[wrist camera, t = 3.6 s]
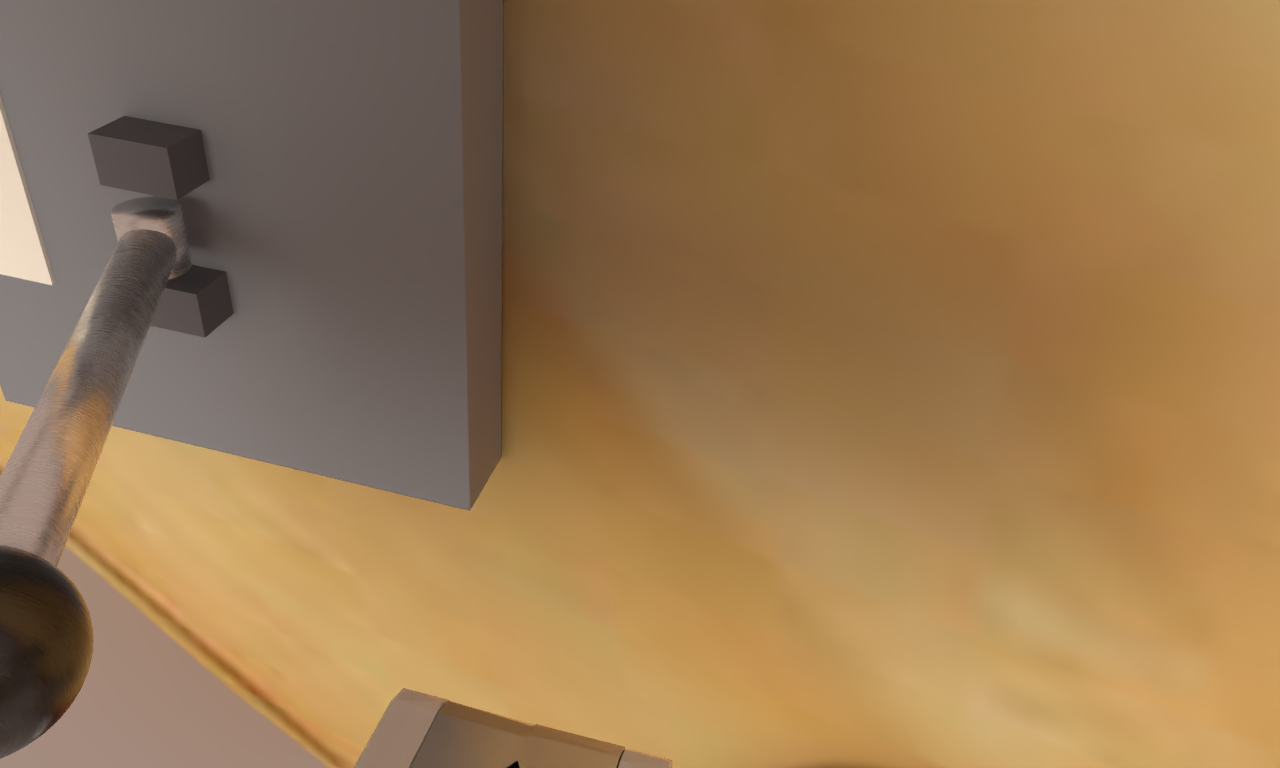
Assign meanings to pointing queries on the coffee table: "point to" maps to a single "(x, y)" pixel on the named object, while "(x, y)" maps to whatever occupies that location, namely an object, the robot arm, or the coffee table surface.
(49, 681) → the toggle lever
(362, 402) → the control panel
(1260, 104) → the coffee table surface
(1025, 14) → the coffee table surface
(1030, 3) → the coffee table surface
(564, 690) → the coffee table surface
